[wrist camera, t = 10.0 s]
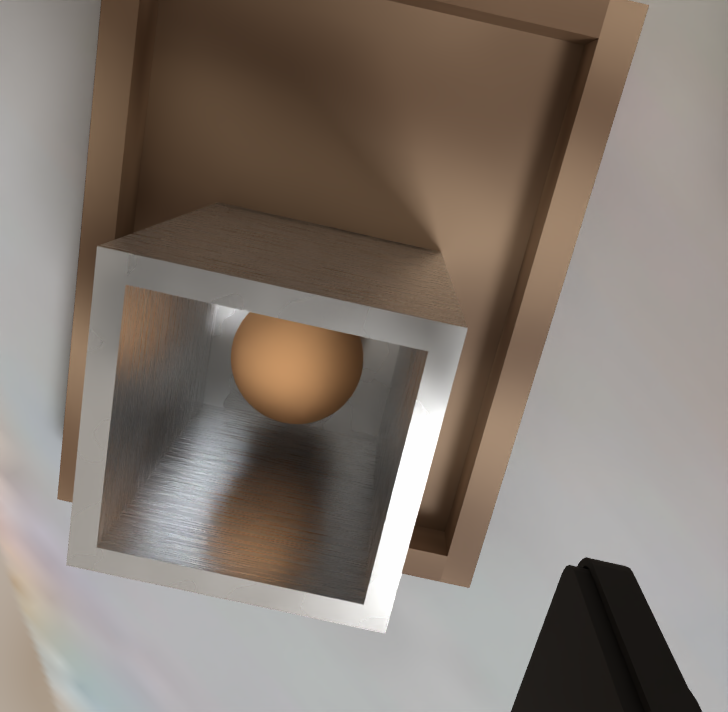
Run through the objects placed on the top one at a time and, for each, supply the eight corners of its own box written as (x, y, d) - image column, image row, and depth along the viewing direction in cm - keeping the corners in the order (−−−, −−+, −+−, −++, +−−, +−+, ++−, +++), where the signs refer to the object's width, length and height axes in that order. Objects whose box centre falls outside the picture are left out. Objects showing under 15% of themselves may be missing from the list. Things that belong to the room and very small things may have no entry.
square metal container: (218, 202, 21) (97, 246, 13) (441, 251, 22) (467, 328, 13) (188, 409, 24) (66, 564, 15) (390, 453, 24) (384, 633, 15)
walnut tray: (146, -88, 20) (111, -119, 18) (619, 20, 20) (649, 5, 18) (89, 465, 26) (57, 499, 23) (462, 546, 26) (469, 587, 23)
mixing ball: (257, 267, 21) (226, 295, 18) (378, 294, 21) (372, 328, 18) (238, 381, 23) (206, 429, 19) (353, 407, 23) (343, 459, 19)
